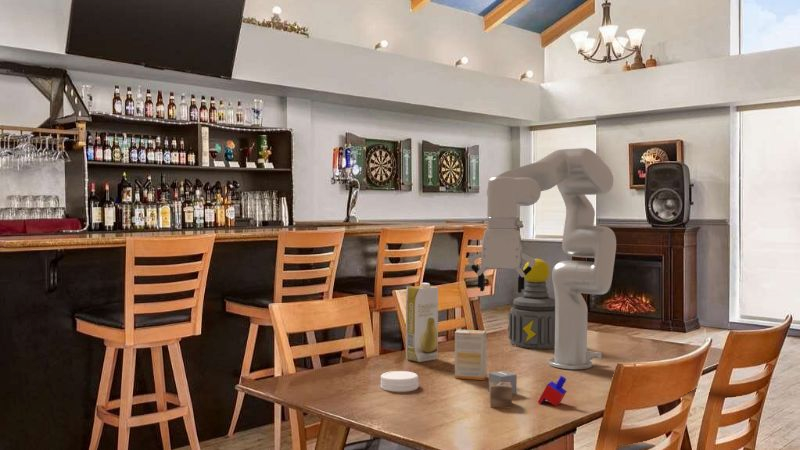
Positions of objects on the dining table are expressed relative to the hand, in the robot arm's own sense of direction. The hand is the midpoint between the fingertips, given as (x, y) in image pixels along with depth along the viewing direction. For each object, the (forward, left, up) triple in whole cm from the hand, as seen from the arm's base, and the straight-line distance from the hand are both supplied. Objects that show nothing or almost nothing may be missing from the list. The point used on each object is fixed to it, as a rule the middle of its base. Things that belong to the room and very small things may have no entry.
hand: (500, 291), depth 180 cm
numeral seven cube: (+5, +12, -26) cm, 29 cm away
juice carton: (+8, -41, -26) cm, 49 cm away
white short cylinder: (+24, -10, -26) cm, 37 cm away
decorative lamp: (-38, -55, -26) cm, 72 cm away
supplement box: (+2, -15, -26) cm, 30 cm away
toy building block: (-8, +14, -26) cm, 31 cm away
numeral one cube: (0, +2, -26) cm, 26 cm away
